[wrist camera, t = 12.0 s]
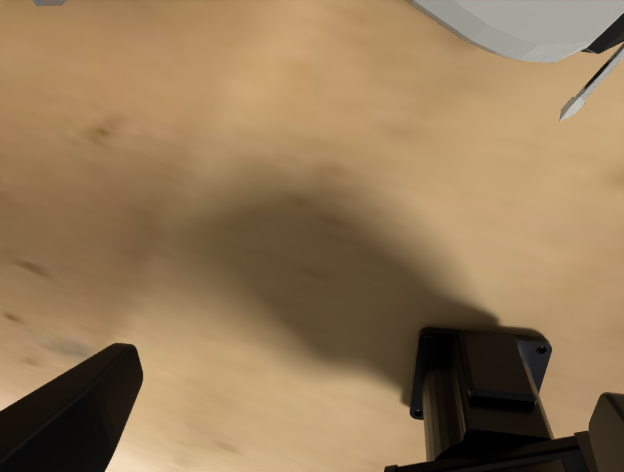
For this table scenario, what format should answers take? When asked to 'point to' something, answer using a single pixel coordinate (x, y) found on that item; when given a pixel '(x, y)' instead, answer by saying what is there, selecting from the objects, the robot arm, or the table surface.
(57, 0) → the tower base
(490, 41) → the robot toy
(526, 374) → the robot arm
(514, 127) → the table surface
